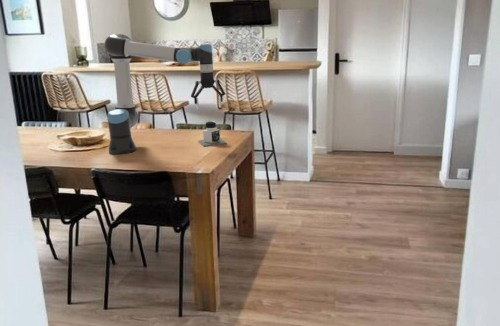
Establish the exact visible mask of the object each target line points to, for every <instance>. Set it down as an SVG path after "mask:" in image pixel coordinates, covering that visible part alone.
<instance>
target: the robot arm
mask: <svg viewBox="0 0 500 326" xmlns="http://www.w3.org/2000/svg"><path fill="white" fill-rule="evenodd" d="M104 50H106V52H107V54H109V55H110V59H111V61H113V65H114V77H115V89H116V90H115V91H116V92H115V93H116V100H117V101H116V102H117V103H116V104H115V105H114V109H113V110H110V111H109V112H107V116H106V117H107V125H108V131H109V139H110V140H109V144H108V153H109V154H111V153H112V154H111V155H125V154H129V153H134V152H135V151H136V150H137V147H136V144H135V141H134V140H133V138H132V130H131V128H133V127H135V125H136V124H137V122H138V120H139V113H138V111H137V110H136V104H134V103H133V95H132V94H133V90H132V80H131V66H130V62H131V60H132V58H133V57H140V58H147V59H153V60H160V61H168V62H173V63H179V64H184V65H187V64H189V63H195V62H197V63H198V62H199V70H200V71H199V73H200V81H199V80H195V85H194V87H193V90H192V92H191V95H190V97H191V98H193V102H194V104H195V106H196V110H200V107H199V98H198V97H199V95H200V94H201V93H202V91H203V90H204V89H211V88H212V89H213V90H214V91H215V92H216V94H218V108H220V109H221V108H222V102H223V100H224V99H223V98H224V97H223V96H225V95H226V92H225V90H224V89H223V86H222V85H221V83H220V79H218V78H217V79H215V78H214V76H215V75H214V65H213V63H214V62H213V60H214V59H213V57H214V56H213V46H212V45H211V44H210V43H204V44H203V43H200V44H198V46H197V47H192V48H191V47H189V48H185V47H184V48H180V47H174V46H173V47H172V46H166V45H159V44H153V43H146V42H145V43H144V42H139V41H133V40H131V38H130V37H129V36H127V35H125V34H121V33H119V34H111V35H108V37H106V38H105V41H104ZM214 84H216V85H217V87H218V88H219V89H218V88H217V87H216V85H214ZM199 85H201V86H200V88H199V87H198V86H199ZM198 88H199V89H198ZM197 89H198V91H197ZM219 90H220V91H219Z"/></svg>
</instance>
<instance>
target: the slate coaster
mask: <svg viewBox="0 0 500 326" xmlns="http://www.w3.org/2000/svg"><path fill="white" fill-rule="evenodd" d="M197 142H198V143H199V144H200V145H201V146H203V147H204V148H205V147H210V146H211V147H213V146H214V147H215V146H220V145H221V146H222V145H227V141H225V140H224V139H223V138H221V137H220V141H218V142H215V143H207V142H204V139H200V140H198V141H197Z"/></svg>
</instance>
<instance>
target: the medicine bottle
mask: <svg viewBox="0 0 500 326" xmlns="http://www.w3.org/2000/svg"><path fill="white" fill-rule="evenodd" d="M202 134H203V135H202V136H203V140H204V142H207V143H215V142H218V141H220V138H221V133H220V129H218V128H217V122H216V121H213V120H212V121H207V122H205V129H204V130H202Z"/></svg>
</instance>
